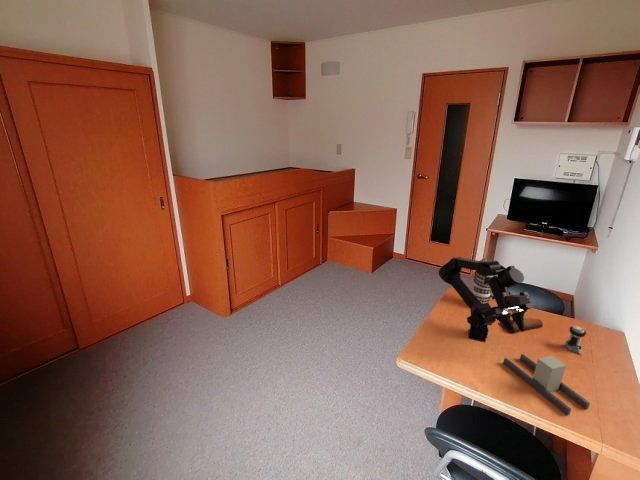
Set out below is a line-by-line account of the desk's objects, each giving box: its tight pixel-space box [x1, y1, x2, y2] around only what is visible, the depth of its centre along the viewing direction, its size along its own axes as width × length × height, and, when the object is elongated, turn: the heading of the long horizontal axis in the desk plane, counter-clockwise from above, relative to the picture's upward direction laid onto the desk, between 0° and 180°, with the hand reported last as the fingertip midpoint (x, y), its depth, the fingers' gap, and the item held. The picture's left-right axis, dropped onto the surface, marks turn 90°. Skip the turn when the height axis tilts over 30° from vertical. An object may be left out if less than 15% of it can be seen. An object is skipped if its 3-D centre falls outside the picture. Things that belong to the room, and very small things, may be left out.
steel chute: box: [502, 353, 591, 417], centre depth 110 cm, size 24×10×4 cm, turn 18°
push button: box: [564, 325, 587, 355], centre depth 128 cm, size 7×5×10 cm
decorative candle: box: [471, 258, 494, 305], centre depth 157 cm, size 9×9×25 cm
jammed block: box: [532, 355, 567, 393], centre depth 107 cm, size 5×6×10 cm
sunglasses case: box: [497, 317, 544, 334], centre depth 145 cm, size 18×7×7 cm
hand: (518, 332), depth 117 cm, fingers open, 4 cm apart
